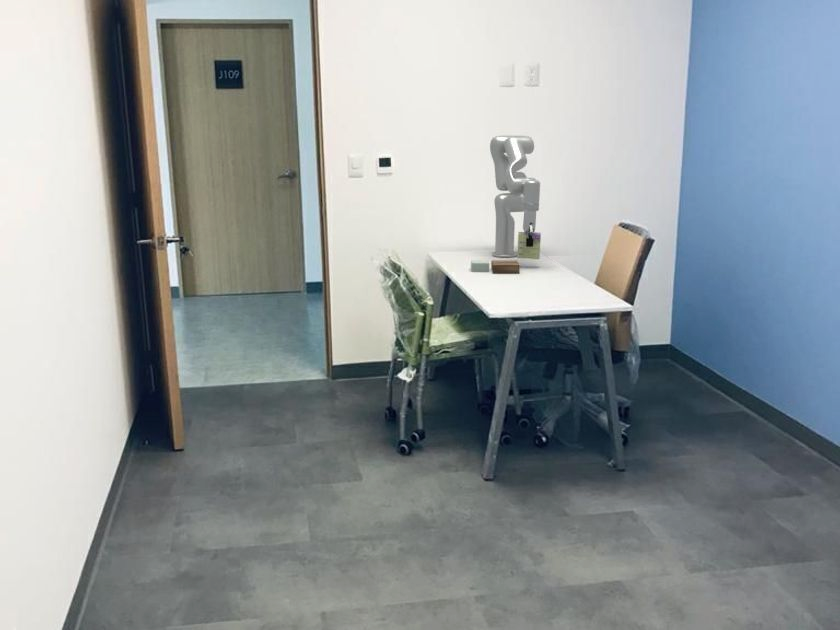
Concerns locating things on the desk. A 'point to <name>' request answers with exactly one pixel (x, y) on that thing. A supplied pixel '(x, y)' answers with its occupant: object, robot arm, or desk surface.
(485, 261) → the green block
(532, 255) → the box
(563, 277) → the desk surface
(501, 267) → the walnut base
